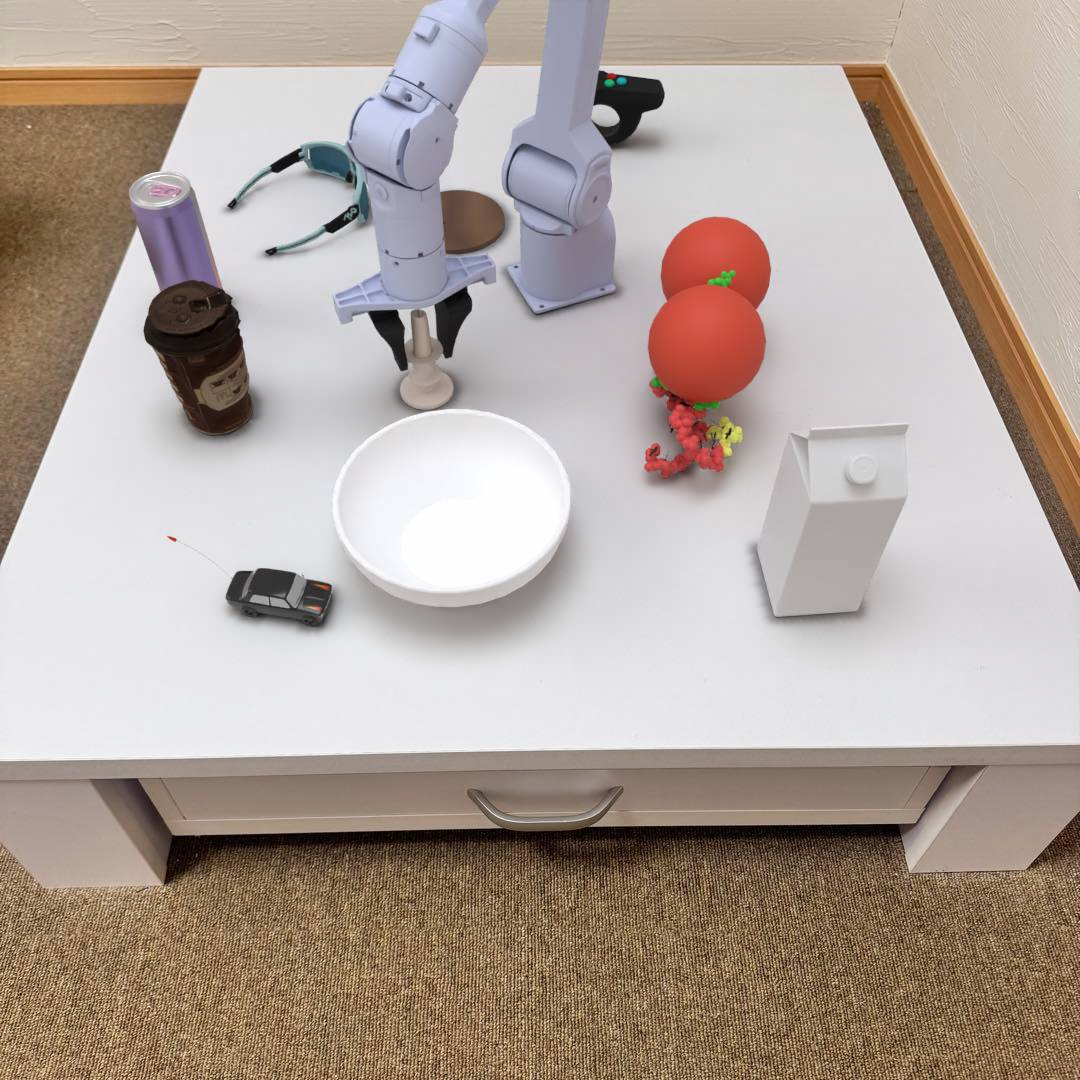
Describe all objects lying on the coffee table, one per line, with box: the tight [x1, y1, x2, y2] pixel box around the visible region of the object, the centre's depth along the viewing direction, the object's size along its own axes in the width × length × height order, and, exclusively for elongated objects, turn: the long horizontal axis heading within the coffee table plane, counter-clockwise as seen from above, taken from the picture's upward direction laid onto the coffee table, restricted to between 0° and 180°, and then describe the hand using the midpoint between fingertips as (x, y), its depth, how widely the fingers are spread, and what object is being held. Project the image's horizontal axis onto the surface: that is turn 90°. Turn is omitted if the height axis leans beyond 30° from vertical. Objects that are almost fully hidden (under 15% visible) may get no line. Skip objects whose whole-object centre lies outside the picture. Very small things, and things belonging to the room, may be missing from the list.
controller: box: [591, 69, 666, 146], centre depth 126 cm, size 4×12×10 cm, turn 78°
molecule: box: [643, 216, 772, 479], centre depth 98 cm, size 25×11×15 cm, turn 173°
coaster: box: [440, 189, 506, 255], centre depth 120 cm, size 11×11×1 cm
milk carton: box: [756, 421, 910, 618], centre depth 83 cm, size 7×7×19 cm
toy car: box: [166, 535, 333, 627], centre depth 86 cm, size 4×12×8 cm, turn 80°
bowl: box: [331, 408, 572, 608], centre depth 90 cm, size 20×20×7 cm
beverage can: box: [128, 170, 224, 292], centre depth 105 cm, size 6×6×15 cm
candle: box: [399, 309, 455, 411], centre depth 100 cm, size 5×5×10 cm
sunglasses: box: [226, 140, 370, 256], centre depth 120 cm, size 14×15×5 cm
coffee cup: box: [142, 280, 254, 436], centre depth 97 cm, size 9×8×13 cm
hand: (423, 357), depth 100 cm, fingers closed on candle, 4 cm apart
